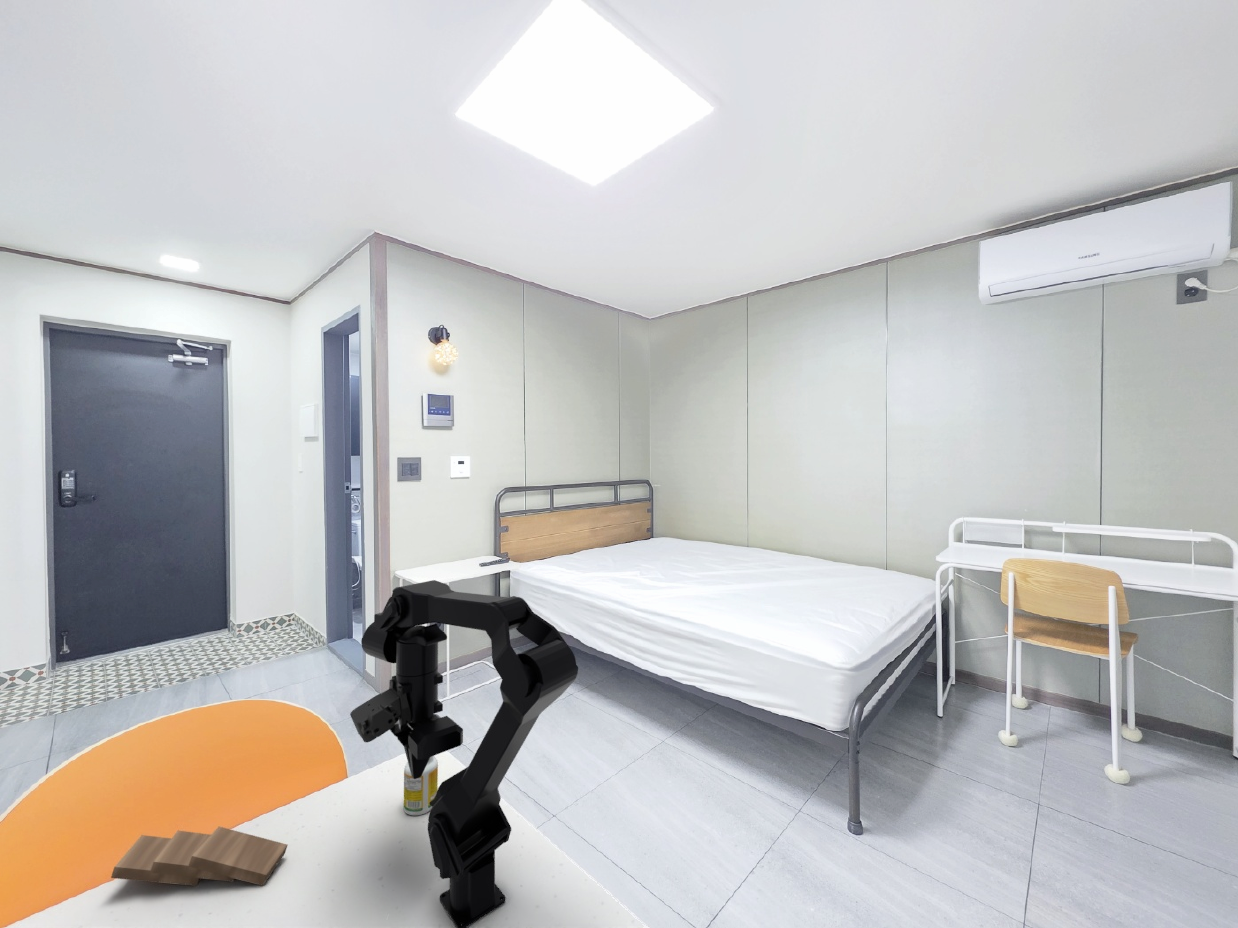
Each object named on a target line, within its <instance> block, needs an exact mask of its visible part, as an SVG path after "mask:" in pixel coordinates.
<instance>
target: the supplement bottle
mask: <svg viewBox="0 0 1238 928" xmlns="http://www.w3.org/2000/svg"><path fill="white" fill-rule="evenodd" d="M438 763H439V762H438V759H437V757H436V755H434V756H432V757H430V759H429V761H428V763H427V765H426V767H425V769H424V772H423V774H422V776H421V777H419V778H417V779H414V778H413V777H412V775H411V772H410V768H409V764H408V761H407V762H406V763H405V765H404V768H403V769H404V770H403V811H404V812H405V813H406V814H407V815H409V816H414V817H415V816H420V815H424V814H426V813H429V812H430V810H431V808H432V806H431V805H430V802H431V801H432V800H433V799H434V798H435V796H436V794H437V790H438V781H439V779H438V778H439V777H438V776H439V775H438V773H439V772H438V771H439V770H438V769H439V764H438Z"/></svg>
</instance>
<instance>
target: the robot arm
mask: <svg viewBox="0 0 1238 928" xmlns="http://www.w3.org/2000/svg"><path fill="white" fill-rule="evenodd" d="M373 616H374V617H373V618H374V619H373V622H372V623H370V625H369V626H368V627H367V628H366V629H365V631H364V633H363V636H362V637H361V640H360V641H361V642H360V643H361V649H362V651H363V652H364V653H365V654H367V655H368V656H370V657H373V658H376V659H379V660H381V661H385V662H387V663H390V664H395V665H396V666H395V675H393V676H391V679H389V684H388V685H389V688H388V689H387V690H385V691H383V692H381V693H379V694H376V695H375V696H373V697H371V698H370V699H368V700H366V701H365V702H363V703H362V704H360V705H359V706H356V707H355V708H354V709H353V710H352V711H350V714H349V716H350V718H351V720H352V722H353V725H354V726H355V730H356V731H357V734H358V735H359V737H360V738H361V739H362V741H363V742H364V743H370V742H372V741H374V740H375V739H377V738H379V737H381V736H382V735H384V734H385V733H386V732H388V731H390V732H391V734H393V736H395V737H396V738H397V740H398V741H399V742H400V744H401V745H402V746H403V748H404V751H405V752H404V753H405V755H406V760H407V762H408V764H409V768H410V772H411V775H412V777H413V778H414V779H417V778H419V777H421V776H422V774H423V772H424V769H425V767H426V765H427V763H428V761H429V759H430V757H432V756H436V755H440V754H441V753H444V752H448V751H450V750H452V749H454V748H457V747H460V746H462V745H463V743H464V734H463V733H464V728H463V727H461V726H460V724H458V723H457V722H456V721H454V720H453V719H452V718H451V717H450V716H448V715H445V716H442V717H441V716H440V715H438V713H441V712H443V710H444V706H443V705H444V703H442V702H441V701H440V700H439V684H444V675H442V674H441V673H440V672H439V643H441V642H444V641H447V639H448V635H447V634H446V632H445V631H444V630H442V629H441V628H440V627H439V625H438V624H442V625H449V626H454V627H461V628H466V629H472V630H479V631H484V632H486V634H487V635H488V637H489V639H490V642H491V657H492V665H493V667H494V669H495V671H496V672H497V673H498V676H500V678H501V682H500V685H499V689H500V693H501V694H500V695H501V698H502V702H501V705H500V707H499V709H498V711H497V712H496V715H495V716H494V718H493V720H492V722H491V724H490V726H489V728H488V730H487V731H486V733H485V735H484V737H483V738H482V740H481V742H480V744H479V745H478V748H477V750H476V752H475V753H474V755H473V757H472V759H471V760H470V763H469V764H468V766H467V767H465V768H464V769H462V770H460V771H459V772H456V773H455V774H453V775H451V776H450V777H449V778H447V779H445V780H444V781H442V782H441V783H440V785H439V786H438V787H437V794H436V796H435V798H434V799H433V800H432V801H431V802H430V805H431V806H432V808H431V810H430V811H429V812H428V813H429V814H428V819H427V820H428V821H427V823H428V824H427V833H428V839H429V844H430V849H431V856H432V861H433V864H434V867H435V868H436V869H438V870H439V878H441V879H442V880H444V879H449V889H447V890H445V891H444V892H442V893H440V895H439V902H440V904H441V905H442V908H443V909H444V911H445V912H446V913H447V915H448V917H449V918H450V920H451V922H452V923H453V925H454V927H456V928H468V927H470V926H471V925H473V924H474V923H476V922H478V921H479V920H480V919H482V918H484V917H485V916H487V915H488V914H490V913H492V912H493V911H494V910H496V909H497V908H499V907H501V906H502V905H503V904H505V903H506V896H505V894H504V893H503V891H502V890H501V889H500V888H499V887H498V885H497V884H496V850H497V849H499V848H500V847H501V846H502V845H503V844H505V843H507V842H508V841H509V840H510V839H509V838H510V835H511V833H512V826H511V825H510V823H509V821H508V819H507V816H506V815H505V812H504V811H503V809H502V807H501V805H500V803H501V795H500V791H499V787H500V785H501V783H502V781H503V780H504V778H505V775H507V772H508V771H509V769H510V767H511V765H512V764H513V761H514V760H515V758H516V757H517V755H518V753H519V752H520V750H521V748H522V746H523V744H524V743H525V741H526V739H527V738H528V735H529V734H530V732H531V730H532V729H533V728H534V726H535V725H536V722H537V720H538V718H539V716H540V715H541V714H542V712H544V711H546V709H547V708H548V707H550V706H551V705H552V704H553V703H555V701H556V700H558V699H559V698H560V697H561V696H562V695H563V694H564V693H565V691H567V690H568V688H569V687H570V686H572V684H573V683H574V682H575V680H577V676H578V673H579V666H578V665H577V661H576V656H575V653H574V652H573V650H572V649H571V647H570V646H569V644H567V642H566V641H565V639H564V638H563V637H562V635H561V633H560V632H559V631H558V628H556V627H555V626H554V625H552V623H549V622H548V621H547V620H545V618H543V617H541V616H540V615H538V614H536V613H535V612H533V609H532V608H531V607H530V605H529V604H528V603H527V601H526V600H525V599H524V598H523V597H520V596H514V595H513V596H509V597H507V596H500V595H499V596H497V595H490V594H479V593H470V592H462V591H461V592H460V591H456V590H455V591H454V590H452V589H451V587H450V585H449V584H447V583H446V584H445V582H441V581H438V580H436V579H435V580H434V579H433V580H427V581H422V582H418V583H417V582H416V583H413V584H408V585H403V586H397V587H395V588H394V589H393V590H392V593H391V596H390V597H389V598H388V600H387V602H386V604H385V606H384V608H383V609H382V612H379V613H375V614H374V615H373ZM426 624H428V625H426ZM429 624H430V625H429ZM515 629H516V631H517V632H518V633H519V634H520V635H522V636H523V637H525V638H527V639H528V640H530V641H531V642H532V643H534V644H536V645H537V646H534V647H531V648H530V649H527V650H525V651H522V652H519V653H516V651H515V650H514V648H513V646H512V643H511V634H510V631H514V630H515Z"/></svg>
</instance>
